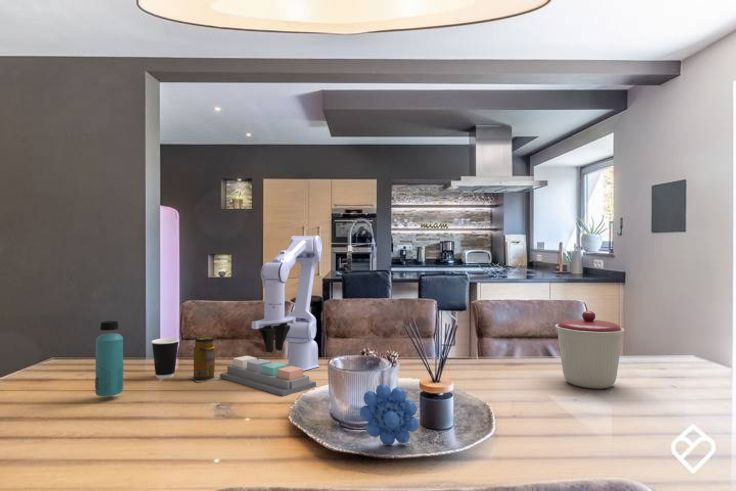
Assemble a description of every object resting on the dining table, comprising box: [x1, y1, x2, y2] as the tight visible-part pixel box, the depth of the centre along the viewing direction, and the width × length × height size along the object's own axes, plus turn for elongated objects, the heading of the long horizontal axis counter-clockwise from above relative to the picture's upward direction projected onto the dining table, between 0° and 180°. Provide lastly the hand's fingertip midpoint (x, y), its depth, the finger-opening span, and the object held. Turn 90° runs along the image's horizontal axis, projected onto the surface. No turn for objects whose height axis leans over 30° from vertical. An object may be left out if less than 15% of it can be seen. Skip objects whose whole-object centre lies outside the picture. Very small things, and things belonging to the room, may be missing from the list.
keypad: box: [219, 363, 317, 397], centre depth 136 cm, size 12×29×3 cm, turn 51°
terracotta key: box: [278, 366, 304, 381], centre depth 130 cm, size 5×5×2 cm
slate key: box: [247, 358, 272, 372], centre depth 138 cm, size 5×5×2 cm
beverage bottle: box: [94, 320, 125, 397], centre depth 120 cm, size 6×7×20 cm
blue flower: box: [359, 383, 419, 446], centre depth 90 cm, size 12×7×12 cm, turn 97°
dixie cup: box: [150, 337, 180, 380], centre depth 142 cm, size 8×8×11 cm
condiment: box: [187, 336, 222, 383], centre depth 140 cm, size 7×8×12 cm
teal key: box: [262, 362, 288, 376], centre depth 134 cm, size 5×5×2 cm
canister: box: [554, 310, 626, 390], centre depth 134 cm, size 18×18×21 cm
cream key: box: [232, 355, 258, 369], centre depth 143 cm, size 5×5×2 cm
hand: (274, 351), depth 134 cm, fingers open, 3 cm apart
